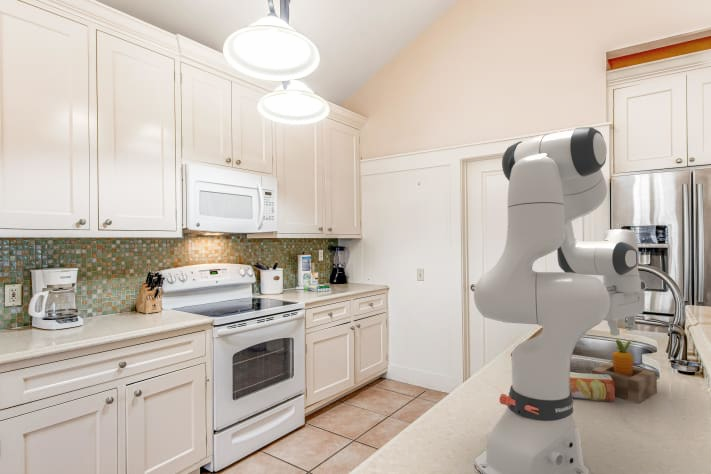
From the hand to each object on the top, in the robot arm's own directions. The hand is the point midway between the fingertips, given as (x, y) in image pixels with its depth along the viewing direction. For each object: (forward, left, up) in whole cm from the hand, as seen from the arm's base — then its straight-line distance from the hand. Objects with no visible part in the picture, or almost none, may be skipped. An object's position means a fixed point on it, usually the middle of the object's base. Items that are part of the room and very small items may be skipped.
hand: (622, 332), depth 116 cm
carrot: (0, 0, -17) cm, 17 cm away
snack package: (-14, +8, -18) cm, 24 cm away
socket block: (0, 0, -17) cm, 17 cm away
